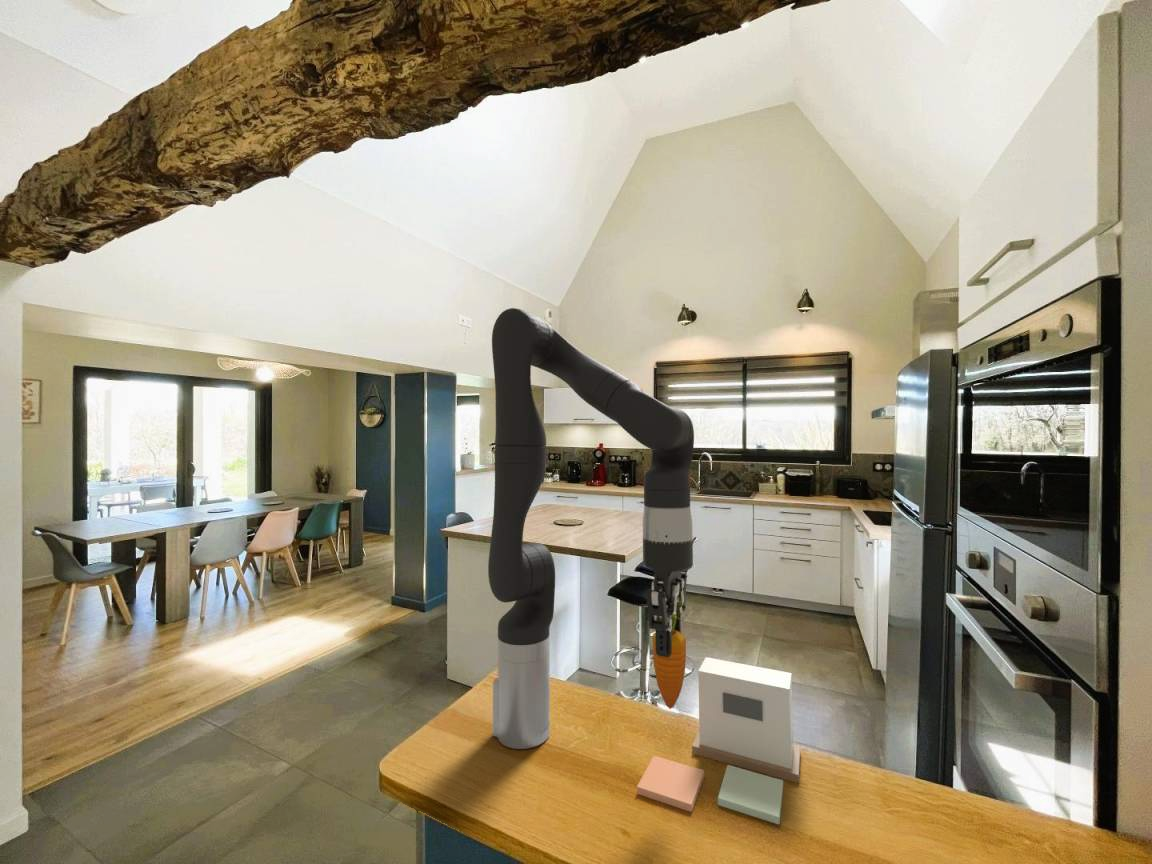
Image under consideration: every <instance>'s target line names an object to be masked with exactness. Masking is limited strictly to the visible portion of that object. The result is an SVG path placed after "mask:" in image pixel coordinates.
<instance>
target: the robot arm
mask: <svg viewBox="0 0 1152 864" xmlns="http://www.w3.org/2000/svg"><path fill="white" fill-rule="evenodd" d="M491 352H492V354H491V355H492V362H493V363H492V364H493V374H494V389H495V435H494V436H495V438H494V494H493V495H494V499H493V514H492V515H493V517H492V518H493V519H492V524H491V525H492V526H491V536H490V542H489V553H488V555H489V556H488V565H487V568H488V569H487V571H488V574H487V575H488V583H489V586H490V590H491V593H492V594H493V596H494V598H495V599H497V600H498V601H499V602H500V603H511V602H514V603H513V606H511V608H510V609H509V610H508V611H507V612H506V613H504V615H502V617H501V618H500V619H499V621H498V624H497V677H496V678H494V679H493V680H492V681H493V682H492V736H493V737H495V738H497V740H498V741H499V742H500V743H501V745H503V746H504V747H507V748H510V749H515V750H525V749H527V750H529V749H531V748H535V747H538V746H540V745H542V744H543V743H545V742H546V741H547V739H548V738H549V736H550V729H551V728H550V724H551V723H550V722H551V720H550V712H551V711H550V700H551V699H550V695H551V693H550V690H551V688H550V687H551V686H550V682H551V681H550V675H551V674H550V670H551V669H550V662H551V661H550V659H551V657H550V656H551V655H550V653H551V652H550V627H551V624H552V622H553V618H554V613H555V595H556V593H555V592H556V567H555V562H554V558H553V555H552V553H551V551H550V550H549V548H548V547H547V546H546V545H544V544H543V543H541V542H529V543H528V542H527V543H524V544H523V541H524V540H523V538H524V528H525V522H526V518H527V516H528V513H529V510H530V509H531V506H532V504H533V502H534V500H535V498H536V496H537V494H538V492H539V490H540V488H541V486H542V483H543V481H544V478H545V475H546V471H547V470H546V469H547V436H546V430H545V427H544V423H543V420H542V417H541V415H540V412H539V410H538V407H537V404H536V402H535V398H534V395H533V389H532V379H531V376H532V371H531V369H532V367H536V368H538V369H540V370H543V371H545V372H547V373H549V374H552V375H554V376H555V377H557V378H558V379H560V380H562V381H563V382H564V383H565V384H567V385H568V386H569V387H570V388H571V389H572V390H573V391H574V392H575V393H576V395H577V396H578V397H579V398H580V399H582V401H584V402H585V403H586V404H588V405H590V406H591V407H592V408H594V409H595V410H596V411H598V412H599V413H600V414H602V415H604V416H605V417H607V418H609V419H610V420H612V421H614V422H616V423H617V424H618V425H619V426H620V427H621V428H622V429H623V430H624V431H625V432H626V433H628V434H629V435H630V437H632V438H633V439H635V441H636V442H639V443H640V444H641V445H643V446H644V447H645V448H648V449H650V450H651V460H650V461H651V462H650V463H651V464H650V467H649V468H648V469H647V470H646V472H645V474H644V478H643V515H642V564H643V566H644V568H647V569H649V570H652V571H653V572H654V577H653V578H654V579H653V580H652V582H651V589H647V590H646V592H645V596H646V605H647V607H646V608H647V614H648V615H647V616H648V626H649V629H650V630H655V633H656V654H657V655H658V656H663V657H670V655H671V654H672V640H671V629H672V616H673V615H675V614H676V612H677V615H676V616H677V618H676V624H675V628H674V630H677V631H679V632H680V633H681V634H682V618H683V616H684V612H685V611H686V607H687V605H686V603H687V602H686V600H687V582H688V581H687V578H688V575H687V572H686V571H688V570H690V569H692V568H693V565H694V556H693V555H694V553H693V552H694V551H693V550H694V548H693V547H694V546H693V545H694V544H693V542H694V540H693V519H692V517H693V516H692V512H691V509H692V508H691V481H690V473H691V467H692V462H693V461H692V460H693V454H694V448H695V447H694V445H695V431H694V429H695V428H694V424H693V422H692V419H691V418H690V416H689V415H688V414H687V412H685V411H683V410H682V409H680V408H676V407H673V406H669V405H667V404H665V403H664V402H662V401H659V400H658V399H656V398H654V397H653V396H651V395H650V394H648V393H646V392H644V390H643V389H642V387H640V386H639V385H637V383H635V382H634V381H632V380H630V379H628V378H627V377H626V376H624V375H622V374H620V373H619V372H617V371H615V370H614V369H612V368H610V367H608V366H607V365H605V364H603V363H601V362H599V360H596V359H594V358H592V357H590V356H589V355H587V354H585V353H584V352H583V351H581V350H580V349H579V348H577V347H576V346H574V345H573V344H572V343H570V342H569V341H568V340H567V339H566V338H565V337H564V336H563V335H562V334H560V333H559V332H558V331H557V330H556V329H555V328H554V327H553V326H552V325H551V324H550V323H549V322H548V321H546V320H545V319H544V318H542V317H539V316H538V315H536V314H533V313H530V312H528V311H526V310H523V309H520V308H515V307H512V308H511V307H510V308H508V309H505V310H503V311H502V312H501V313H500V314H499V315H498V317H497V318H496V319H495V322H494V325H493V328H492V332H491ZM659 617H661V618H662V621H659Z"/></svg>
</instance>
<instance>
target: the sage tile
mask: <svg viewBox="0 0 1152 864" xmlns="http://www.w3.org/2000/svg"><path fill="white" fill-rule="evenodd" d="M783 792H784V779H781V778H777V777H774V776H772V777H771V776H770V775H767V774H763V773H759V772H756V771H752V770H749V769H745V768H744V769H743V768H742V767H738V766H735V765H731V764H727V765H726V768H725V773H724V776H723V780H722V782H721V786H720V789H719V792H718V796H717V806H720V807H723V808H726V809H729V810H732V811H736V812H738V813H742V814H744V815H748V816H751V817H755V818H757V819H760V820H763V821H765V822H769V823H773V824H776V825H778V826H779V825H780V824H781V823H780V822H781V815H782V814H781V811H782V805H783V802H782V801H783V794H784V793H783Z"/></svg>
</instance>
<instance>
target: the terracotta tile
mask: <svg viewBox="0 0 1152 864" xmlns="http://www.w3.org/2000/svg"><path fill="white" fill-rule="evenodd" d="M704 778H705V770H704V769H700V768H698V767H693V766H691V765H686V764H683V763H681V762H678V761H677V762H676V761H674V760H670V759H668V758H667V759H666V758H664V757H660V756H656V755H653V756H652V758H651V760H650V762H649V763H648V765H647V767H646V769H645V771H644V773H643V774H642V777H641V778H640V780H639V782H638V784H637V786H636V794H637V795H641V796H643V797H645V798H649V799H651V800H655V801H657V802H661V803H663V804H667V805H670V806H672V807H676V808H678V809H682V810H684V811H687V812H690V813H692V812H693V810H694V808H695V804H696V801H697V799H698V796H699V793H700V790H701V787H702V784H703V782H704Z"/></svg>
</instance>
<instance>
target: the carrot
mask: <svg viewBox="0 0 1152 864" xmlns="http://www.w3.org/2000/svg"><path fill="white" fill-rule="evenodd" d="M676 615H677V612H676V614H675V615H673V616H672V629H671V640H672V654H671V655H670V657H663V656H658V655H657V654H656V632H655V633H654V634H653V637H652V657H653V668H654V672H655V673H654V674H655V679H656V685H657V687H658V690H659V692H660V695H661V698H662V699H663V702H664V703H665V705H666V706H667V708H668V709H672V708H674V706H675V705H676V703H677V701H678V699H679V697H680V694H681V691H682V688H683V684H684V680H685V679H684V677H685V672H686V659H687V641H686V637H685V635H683V634H682V632H681V633H680V632H679V631H677V630H674V628H675V624H676V618H677V616H676ZM659 621H662V618H661V617H660V616H659Z"/></svg>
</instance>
